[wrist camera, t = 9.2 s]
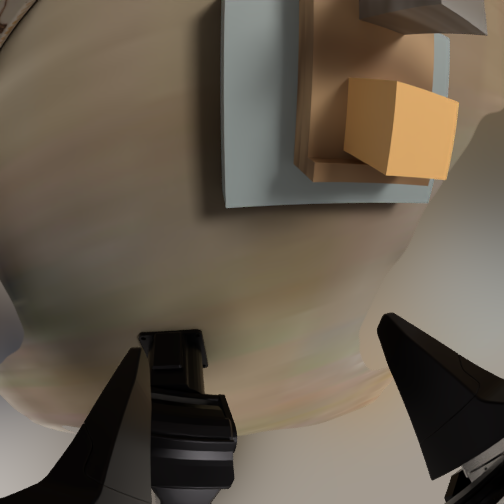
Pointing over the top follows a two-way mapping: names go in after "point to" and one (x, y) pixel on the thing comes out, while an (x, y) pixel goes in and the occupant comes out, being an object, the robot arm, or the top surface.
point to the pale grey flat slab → (282, 113)
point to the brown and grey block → (364, 70)
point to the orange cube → (400, 128)
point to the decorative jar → (11, 15)
